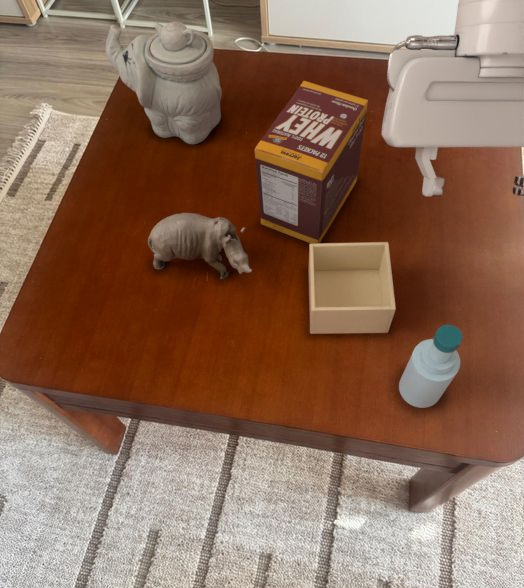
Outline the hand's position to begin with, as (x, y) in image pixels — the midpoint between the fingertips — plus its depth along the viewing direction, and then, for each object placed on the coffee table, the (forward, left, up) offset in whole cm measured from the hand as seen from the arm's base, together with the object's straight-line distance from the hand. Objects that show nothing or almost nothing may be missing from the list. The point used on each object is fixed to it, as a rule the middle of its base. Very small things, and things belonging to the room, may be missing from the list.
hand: (477, 195), depth 53 cm
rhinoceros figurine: (+32, -10, -25) cm, 42 cm away
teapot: (+40, -42, -25) cm, 63 cm away
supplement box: (+16, -22, -25) cm, 37 cm away
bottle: (+2, +11, -25) cm, 27 cm away
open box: (+11, -3, -25) cm, 27 cm away
